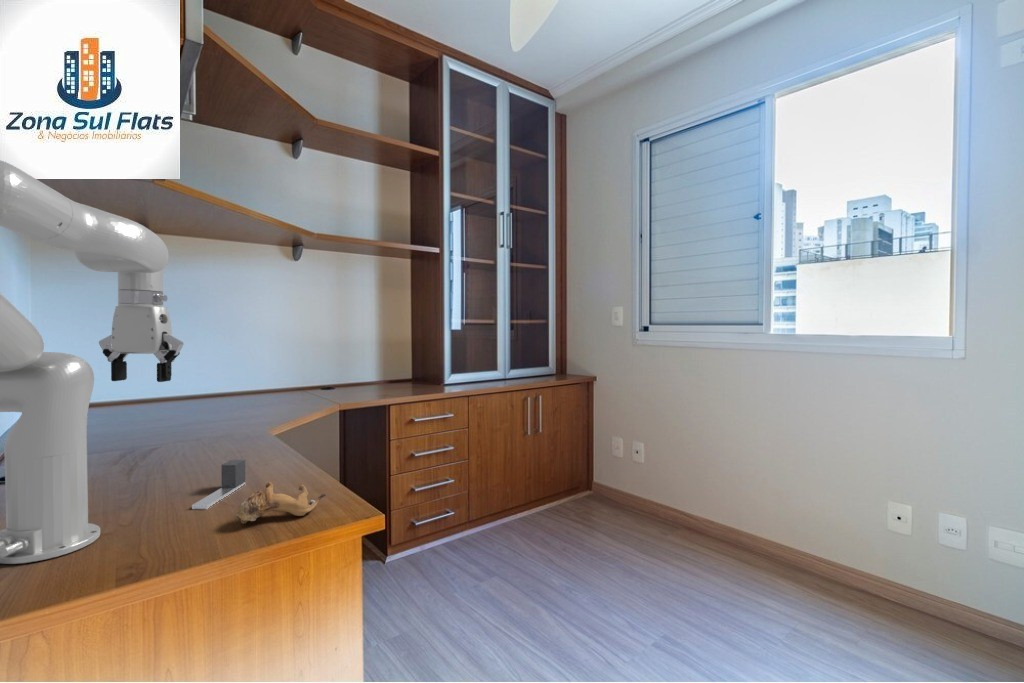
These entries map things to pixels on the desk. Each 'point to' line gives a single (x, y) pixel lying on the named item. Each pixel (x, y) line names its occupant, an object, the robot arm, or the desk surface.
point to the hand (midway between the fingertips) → (141, 380)
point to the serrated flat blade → (225, 483)
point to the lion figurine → (274, 504)
